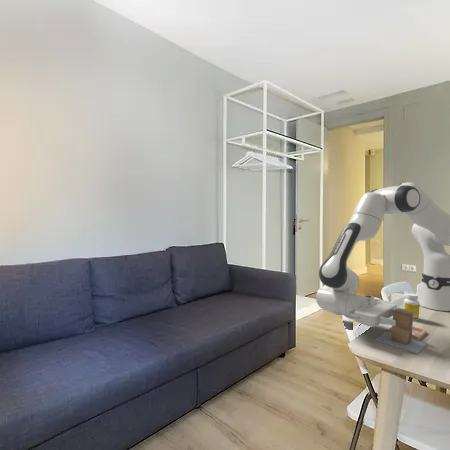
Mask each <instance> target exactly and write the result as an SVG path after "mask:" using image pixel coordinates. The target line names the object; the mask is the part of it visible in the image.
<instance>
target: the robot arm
mask: <svg viewBox="0 0 450 450" xmlns="http://www.w3.org/2000/svg"><path fill="white" fill-rule="evenodd" d="M399 213H405V214H406V216H407V217H408V218H409V219H410V220H411V221H412V222H413V225H412V226H411V234H412V237H413V238H414V239H415V240H416V241H417V243H418V244H419V245H420V248H421V251H422V254H423V269H422V271H423V272H422V274H421V282H420V283H418V284H417V287H416V293H415V294H416V295H418V299H417V300H418V301H419V303H420V304H419V307H423V308H427V309H431V310H436V311H441V312H450V254H449V253H448V252H447V251H446V249H445V246H447V247H449V246H450V213H449V212H446V211H445V210H443V209H442V208H441V207H440V206H439V205H438V204H436V202H435V201H434V200H433V199H432V198H431V196H430V195H429V194H428V193H427V192H426V191H425V190H424V189H423V188H421V187H420V186H419V185H417V184H416V183H414V182H409V181H408V182H403V183H401V184H400V185H391V186H386V187H382V188H376V189H373V190H370V191H369V192H368V191H367V192H365V193H364V194H363V195H361V197H360V199H359V200H358V202H357V204H356V205H355V207H354V210H353V212H352V215H351V217H350V220H349V221H348V223H347V224H346V225H345V226H344V227H343V229H342V231H341V233H340V234H339V236H338V238H337V240H336V242H335V243H334V246H333V248H332V250H331V252H330V253H329V255H328V257H327V258H326V259H325V260H324V261H323V263H322V264H321V265H320V267H319V271H318V277H319V280H320V282H321V284H323V286H322V287H319V288H318V289H317V291H316V295H315V299H316V303H317V305H318V307H319V308H320V309H322V310H324V311H326V312H328V313H331V314H334V315H339V316H344V317H346V318H347V319H351V320H353V321H354V322H356V323H359V324H362V325H364V326H367V327H370V328H371V327H372V328H374V327H377V326H379V325H380V324H381V325H388V326H391V327H392V326H395V325H397V320H396V319H393V310H395V309H397V308H398V307H397V304H395V303H393V302H390V301H387V300H384V299H379V298H375V296H374V295H361V294H356V293H357V291H358V288H359V286H360V278H359V275H357V273H355V272H354V271H353V270H352V269H351V268H349V267H348V260H349V257H350V255H351V254H352V251H353V250H354V248H355V246H356V244H357V243H359V242H362V241H363V242H364V241H370V240H372V239H373V238H375V237H376V235H377V234H378V232H379V231H380V228H381V225H382V222H383V219H384V216H385V215H390V214H391V215H393V214H399Z"/></svg>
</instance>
